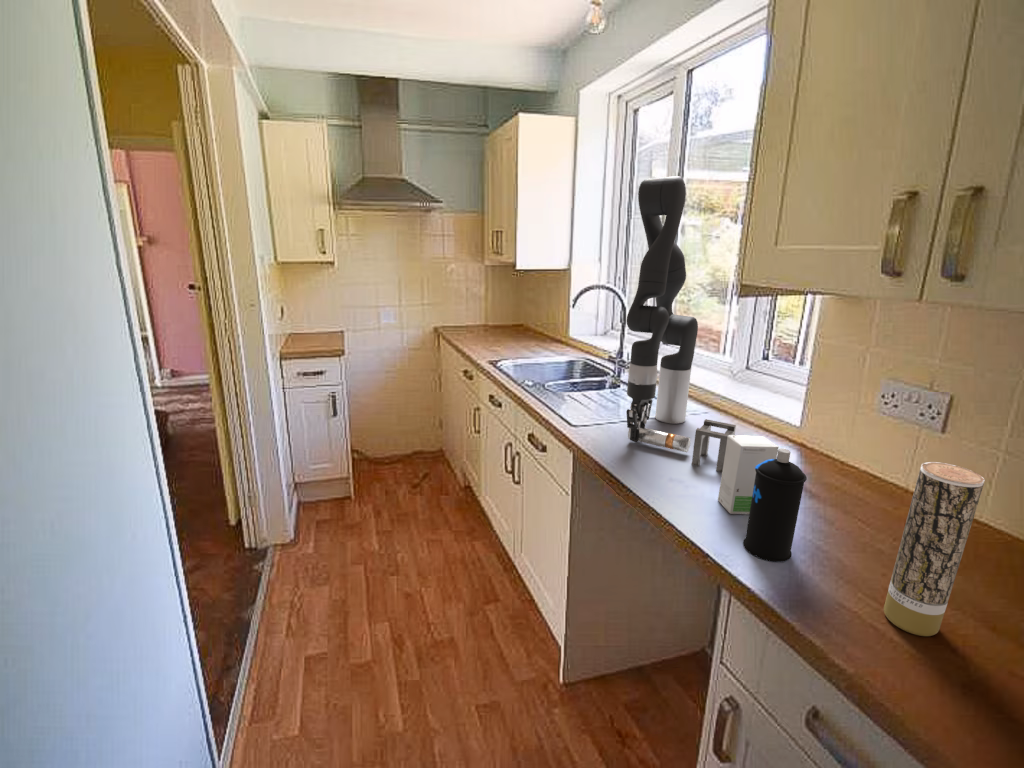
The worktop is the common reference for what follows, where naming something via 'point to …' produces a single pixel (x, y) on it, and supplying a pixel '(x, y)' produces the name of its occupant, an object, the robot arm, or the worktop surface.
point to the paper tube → (932, 546)
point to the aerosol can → (774, 508)
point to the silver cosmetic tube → (663, 439)
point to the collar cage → (703, 441)
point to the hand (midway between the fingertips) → (637, 438)
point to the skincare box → (742, 470)
